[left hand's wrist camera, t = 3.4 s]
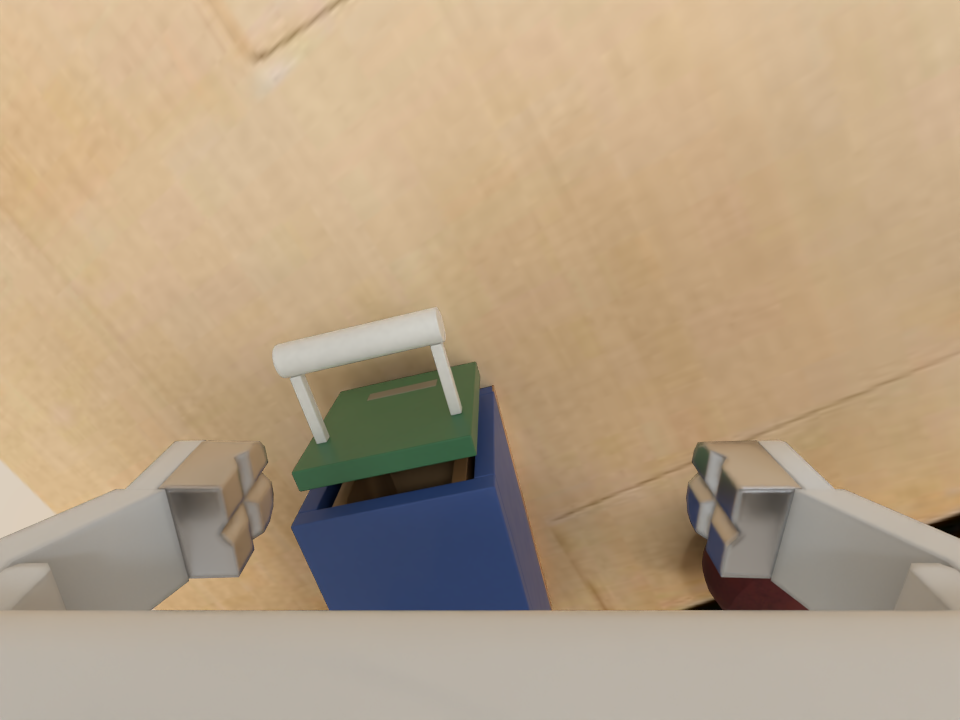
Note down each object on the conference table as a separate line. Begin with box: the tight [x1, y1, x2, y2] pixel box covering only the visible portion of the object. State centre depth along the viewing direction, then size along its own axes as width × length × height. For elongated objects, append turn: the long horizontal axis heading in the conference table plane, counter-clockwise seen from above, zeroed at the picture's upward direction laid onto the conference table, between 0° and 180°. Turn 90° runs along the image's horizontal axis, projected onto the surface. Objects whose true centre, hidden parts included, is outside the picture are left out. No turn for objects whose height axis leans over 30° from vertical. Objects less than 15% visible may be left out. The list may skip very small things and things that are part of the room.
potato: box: [702, 544, 808, 610], centre depth 37 cm, size 7×8×7 cm
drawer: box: [272, 307, 480, 507], centre depth 33 cm, size 25×9×10 cm, turn 14°
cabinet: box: [291, 385, 552, 610], centre depth 35 cm, size 20×10×12 cm, turn 14°
